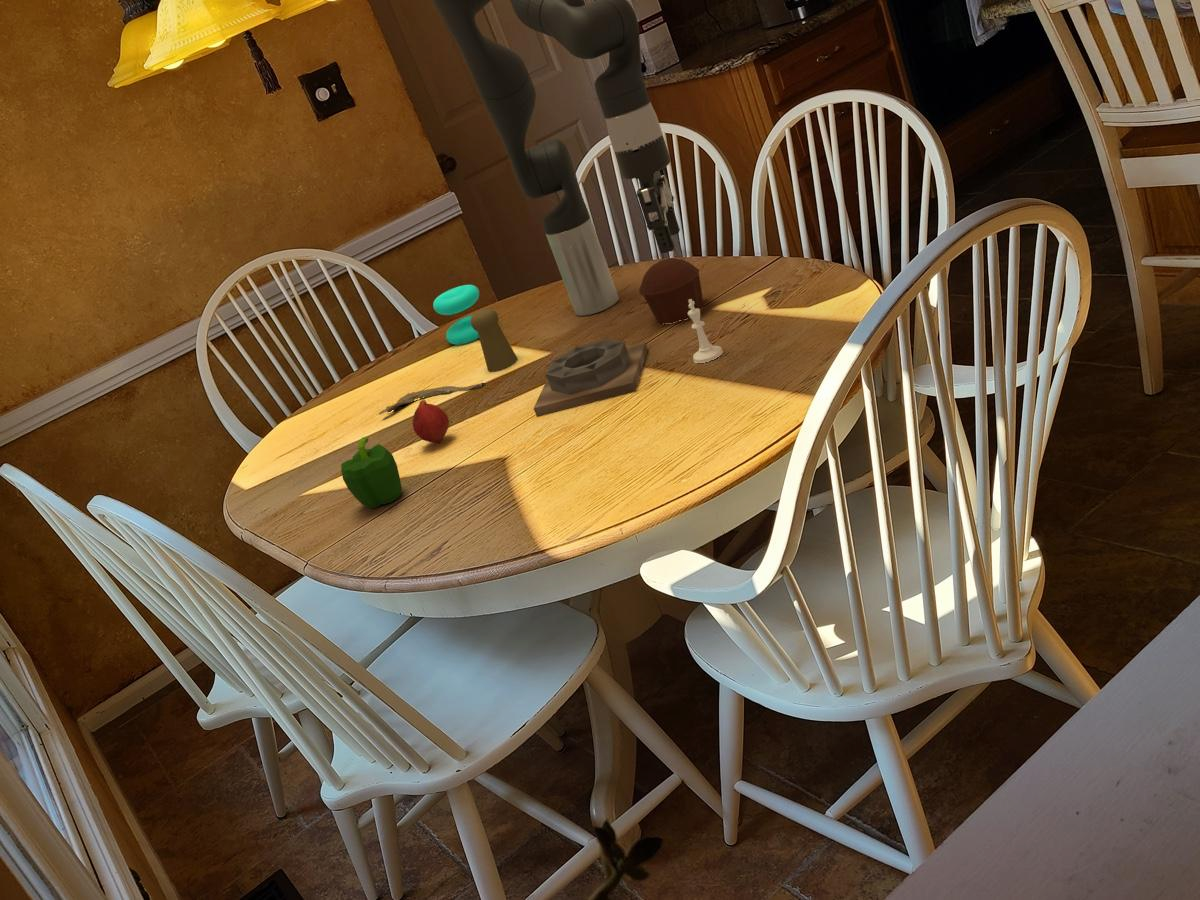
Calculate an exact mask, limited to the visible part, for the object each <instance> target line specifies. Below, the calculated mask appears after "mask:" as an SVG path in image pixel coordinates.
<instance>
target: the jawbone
mask: <svg viewBox="0 0 1200 900" xmlns="http://www.w3.org/2000/svg"><path fill="white" fill-rule="evenodd" d="M482 385H483V386H482ZM485 385H486V383H485V382H480V383H477V384H473V385H472V384H471V385H469V386H453V385H450V386H449V385H445V386H440V387H435V388H433V387H432V388H428V389H422V390H418V391H413V392H410V393H409V392H408V393H407V394H405V395H403V396H402V397H400V398H399V399H398V400H397V402H395V403H394V404H393V405H388V406H386V408H385V409H383V410H381V411H380V412H379V413H378V414H379V416H380V415H382V414H384V413H386V412H387V413H388V412H391V411H392V410H395V409H396V410H397V409H398V408H399V406H402V405H407V404H410V403H414V402H415V401H414V400H415V399H418V398H423V397H426V398H430V397H431V396H432V395H434V396H438V395H443V394H445V395H446V394H449V393H450V392H451V393H456V392H457V393H458V391H459V392H465V391H466V392H467V391H470V390H475V389H476V388H477V389H480V388H482V387H484V386H485ZM442 393H443V394H442ZM429 396H430V397H429ZM432 397H433V396H432ZM423 399H424V398H423ZM413 401H414V402H413Z"/></svg>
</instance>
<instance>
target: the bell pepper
mask: <svg viewBox="0 0 1200 900" xmlns="http://www.w3.org/2000/svg"><path fill="white" fill-rule="evenodd" d="M368 442H369V437H367V436H364V437H361V438H360V440H359V442H358V446H357V447H358V451H357V452H356V453H355V454H354V455H353V456H352V457H351V458H352V459H347V460H346V461H344V462H342V463H341V465H340V467H341V468H340V471H341V472H340V473H341V477H342V479H343V481H344V484H345V486H346V487H347V489H348V490H349V492H350V494H352V495H353V497H354V498H355V499H356V500H357V501H358V502H359V503H360V504H361V505H362V506H364V507H367V508H369V509H375V508H377V507H380V506H381V505H386V504H389V503H390V504H391V503H393V502H394V501H396V500H397V499H398V498H399V497H400V495H401V494H402V490H403V488H402V482H401V478H400V472H399V470H398V464H397V462H396V460H395V457H394V455H393V453H392V452H390V451H389V450H388V449H387V448H386V447H385V446H383V445H381V444H379V443H377V444H375V445H374V446H373V447H372V448H366V444H367V443H368Z"/></svg>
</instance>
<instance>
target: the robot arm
mask: <svg viewBox="0 0 1200 900" xmlns="http://www.w3.org/2000/svg"><path fill="white" fill-rule="evenodd" d="M509 1H510V4H511V6H512V9H513V12H514V14H515V15H516V17H517V18H518V20H520V22H521V23H522V24H523V25H525V26H526V27H528V28H529V29H531V30H533V31H535V32H538V33H541V34H543V35H546V36H548V37H551V38H554V39H555V41H557V42H558V43H559V44H560V45H561V46H562V47H563V48H565V50H566V51H568V53H570V54H571V55H572V56H574V57H576V58H578V59H582V60H592V59H596V58H598V57H599V58H600V57H601V56H604V55H606V54H608V66H607V68H606V69H605V70H604V71H603V72H602V73H601V74H600V75H598V77H596V79H595V82H594V89H595V93H596V96H597V99H598V102H599V105H600V109H601V111H602V114H603V116H604V121H605V124H606V128H607V133H608V137H609V140H610V143H611V146H612V149H613V152H614V154H615V158H616V161H617V164H618V166H619V170H620V173H621V176H622V177H623V178H624V179H626V180H633V179H634V180H635V179H637V180H638V182H639V188H638V189H637V190H636V197H637V199H638V201H639V204H640V207H641V208H640V209H641V210H642V213H643V217H644V221H645V223H646V228H647V230H648V231H652V232H653V235H654V237H655V238H654V239H655V241H656V243H657V246H658V250H659V252H660V254H666V253H670V252H673V251H674V250H675V243H674V241H673V238H672V236H675V235H678V234H679V233H680V225H679V222H678V220H677V217H676V214H675V211H674V209H675V207H674V206H675V204H674V202H675V201H674V199H675V196H674V195H673V193H672V189H671V187H670V184H669V180H668V178H667V176H666V172H665V168H666V167H667V166H669V164H670V163H671V157H670V154H669V153H670V152H669V150H668V146H667V144H666V140H665V138H664V135H663V131H662V128H661V125H660V122H659V119H658V116H657V113H656V111H655V109H654V107H653V105H652V103H651V99H650V96H649V93H648V90H647V86H646V83H645V81H644V80H645V79H644V78H643V74H642V73H643V72H642V55H641V42H640V40H641V39H640V28H639V21H638V17H637V14H636V12H635V10H634V8H633V7H632V5H631V3H630V2H629V1H628V0H594V1H591V2H589V3H585V0H509ZM432 2H433V4H434V6H435V8H436V10H437V12H438V13H439V15H440V17H441V18H442V20H443V22H444V24H445V26H446V27H447V29H448V31H449V33H450V35H451V37H453V39H454V41H455V43H456V46H457V47H458V49H459V51H460V52H461V54H462V57H463V59H464V61H465V63H466V65H467V67H468V70H469V72H470V74H471V77H472V79H473V82H474V84H475V86H476V90H477V91H478V94H479V95H480V98H481V100H482V102H483V104H484V106H485V109H486V110H487V112H488V114H489V117H490V118H491V120H492V123H493V124H494V126H495V129H496V131H497V133H498V134H499V137H500V139H501V142H502V144H503V146H504V149H505V151H506V154H507V157H508V160H509V162H510V165H511V168H512V170H513V172H514V173H513V174H514V176H515V178H516V181H517V183H518V186H519V187H520V189H521V191H522V192H523V194H524V195H525V196H526V197H527V198H528V199H531V200H535V199H540V198H543V197H546V196H549V195H551V194H554V193H555V194H556V193H558V192H560V191H563V192H564V193H563V196H562V198H561V200H560V201H559V202H558V203H557V205H555V206H554V208H552V209H551V210H550V211H548V212H547V213H546V214H545V215H544V216H543V218H542V220H541V224H542V228H543V230H544V233H545V236H546V238H547V241H548V244H549V246H550V249H551V251H552V254H553V257H554V259H555V262H556V265H557V268H558V271H559V273H560V276H561V279H562V280H563V284H564V287H565V288H566V292H567V295H568V297H569V299H570V303H571V305H572V308H573V311H574V313H575V315H577V316H591V315H593V314H596V313H597V314H598V313H599V312H603V311H605V310H607V309H609V308H610V307H612V306H614V305H615V304H616V303H617V302H619V299H620V297H619V294H618V292H617V288H616V286H615V282H614V281H613V277H612V274H611V271H610V268H609V266H608V263H607V260H606V257H605V254H604V252H603V249H602V246H601V242H600V241H599V238H598V235H597V232H596V230H595V226H594V224H593V220H592V218H591V216H590V213H589V210H588V207H587V205H586V201H585V200H584V196H583V194H582V191H581V188H580V184H579V180H578V178H577V174H576V170H575V167H574V164H573V161H572V157H571V154H570V152H569V150H568V148H567V145H566V144H565V143H564V141H563V140H561V139H559V138H554V139H551V140H547V141H545V142H542V143H540V144H538V145H535V146H531V147H529V148H526V146H525V144H526V136H527V132H528V129H529V126H530V123H531V120H532V117H533V114H534V110H535V107H536V98H537V94H536V88H535V86H534V83H533V80H532V78H531V76H530V75H531V74H530V72H529V71H528V68H527V66H526V64H525V62H524V59H523V58H522V57H521V56H520V55H519V54H518V53H517V52H515V51H513V50H512V49H511V48H508V47H506V45H502V44H501V43H498V42H496V41H494V40H492V39H490V38H488V37H487V36H486V35H484V34H483V33H482V32H481V31H480V29H479V26H478V25H477V22H476V15H477V14H478V13H479V12H480V11H481V10H482V9H484V8H485V7H486V6H487V5H488V4H489V3H490V2H492V0H432ZM525 148H526V149H525ZM655 216H658V218H657V219H654V217H655Z"/></svg>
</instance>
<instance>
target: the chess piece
mask: <svg viewBox="0 0 1200 900" xmlns="http://www.w3.org/2000/svg"><path fill="white" fill-rule="evenodd" d="M688 301H689V308H691V310H690V311H689V312H688V315H689V317H690V318H689V319H690V320H691V321H692V322H693V323H692V324H691V329H693V330H694V329H695V330H696V333H697V338H698V345H699V348H698V351H696V352H695V353H694V354H693V356H692V358H693V363H695V364H697V363H704V364H706V363H705V362H708V363H710V362H709V361H711V360H714V359H716V358H717V357H719V356H720V355H721V354H722V353H723V354H724V350H723V349H722V346H719V345H713V344H711V343H710V342H709V339H708V338H707V335H706V334H705V330H704V329H703V327H705V324H706V323H705V322H704V321H703V320H702V321H701V311H700V309H698V308H694V304H695V303H694V301H692V299H689V300H688ZM722 350H723V351H722ZM723 354H722V355H723ZM719 358H720V357H719ZM716 360H717V359H716ZM714 361H715V360H714ZM711 362H712V361H711Z"/></svg>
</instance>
